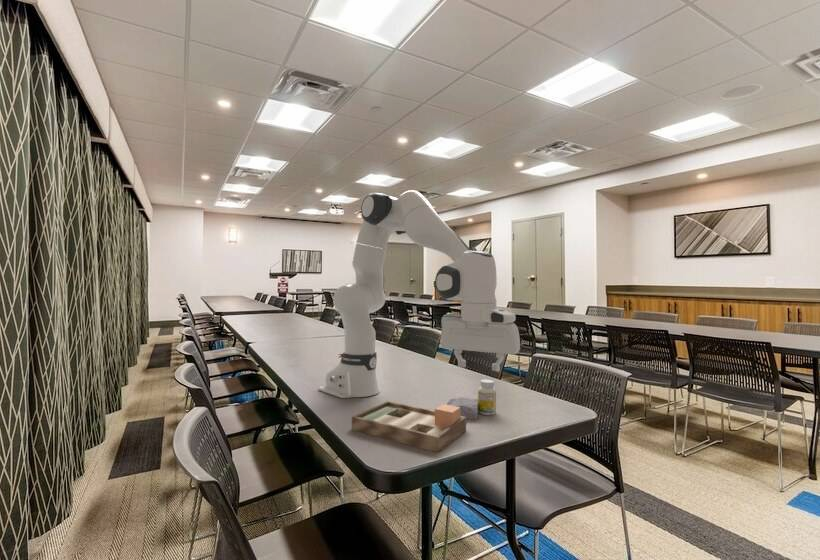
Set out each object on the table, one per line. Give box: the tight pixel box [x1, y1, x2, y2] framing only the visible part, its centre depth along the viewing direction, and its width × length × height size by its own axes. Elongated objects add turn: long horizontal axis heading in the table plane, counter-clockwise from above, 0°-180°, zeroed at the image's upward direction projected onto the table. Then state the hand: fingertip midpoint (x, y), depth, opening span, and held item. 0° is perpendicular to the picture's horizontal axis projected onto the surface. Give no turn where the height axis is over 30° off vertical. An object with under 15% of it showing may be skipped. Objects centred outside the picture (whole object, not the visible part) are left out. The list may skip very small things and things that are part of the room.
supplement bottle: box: [477, 379, 497, 416], centre depth 117 cm, size 5×5×10 cm
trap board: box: [351, 400, 467, 453], centre depth 102 cm, size 26×17×3 cm, turn 59°
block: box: [434, 403, 460, 427], centre depth 100 cm, size 5×5×4 cm
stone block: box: [446, 396, 479, 421], centre depth 117 cm, size 12×5×10 cm
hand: (478, 369), depth 96 cm, fingers open, 8 cm apart
